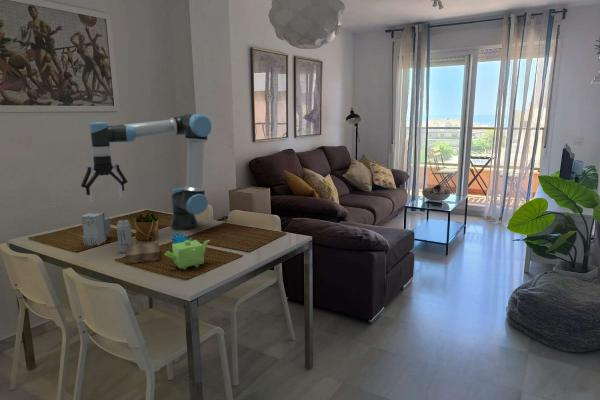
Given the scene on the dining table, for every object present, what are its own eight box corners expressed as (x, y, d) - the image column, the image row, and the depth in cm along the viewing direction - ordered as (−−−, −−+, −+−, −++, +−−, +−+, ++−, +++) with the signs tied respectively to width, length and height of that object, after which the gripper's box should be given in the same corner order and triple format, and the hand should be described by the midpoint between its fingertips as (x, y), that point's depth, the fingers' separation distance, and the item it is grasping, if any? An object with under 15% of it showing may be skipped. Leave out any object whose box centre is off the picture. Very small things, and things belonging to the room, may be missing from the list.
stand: (159, 250, 196) (158, 242, 196) (160, 260, 184) (159, 251, 183) (127, 254, 192) (127, 246, 191) (126, 264, 179) (125, 255, 178)
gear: (178, 249, 193) (169, 232, 196) (172, 256, 196) (163, 239, 199) (196, 247, 202) (188, 230, 205) (190, 253, 204) (182, 237, 208)
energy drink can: (116, 253, 193) (113, 222, 190) (122, 249, 199) (119, 219, 196) (129, 253, 193) (126, 222, 190) (134, 249, 199) (132, 219, 196)
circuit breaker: (113, 237, 219) (110, 210, 216) (98, 245, 205) (94, 216, 202) (100, 237, 220) (97, 209, 217) (83, 245, 206) (80, 216, 203)
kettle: (211, 261, 182) (210, 237, 180) (198, 273, 169) (197, 247, 166) (180, 259, 185) (179, 235, 183) (165, 270, 171) (163, 245, 169)
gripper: (126, 153, 203) (130, 195, 207) (70, 156, 187) (75, 202, 191) (131, 154, 197) (135, 197, 201) (74, 157, 181) (79, 204, 185)
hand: (106, 199), depth 196 cm, fingers open, 13 cm apart
